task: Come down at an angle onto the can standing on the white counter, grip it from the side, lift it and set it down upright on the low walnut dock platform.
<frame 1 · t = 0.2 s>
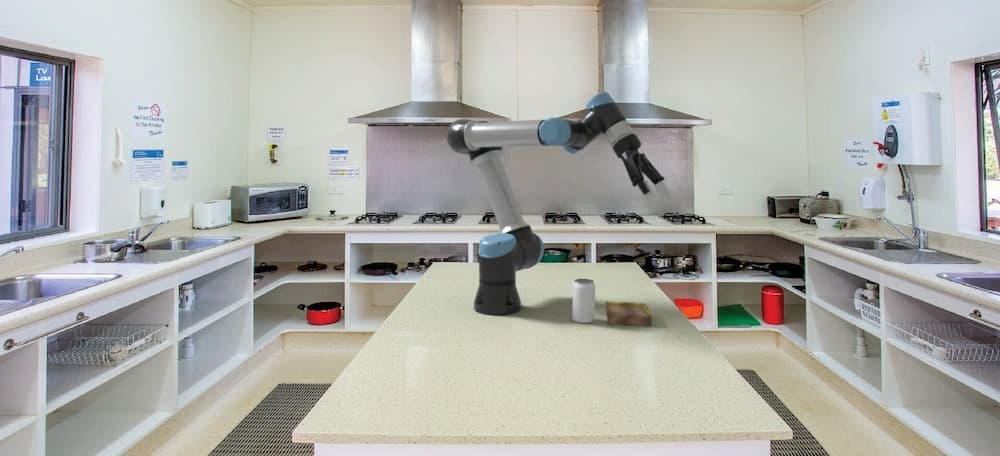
hand: (662, 202, 138), 35 cm above the counter, tool tilted 35°, fingers open, 13 cm apart
dock: (627, 319, 148), on the counter
can: (583, 321, 147), on the counter
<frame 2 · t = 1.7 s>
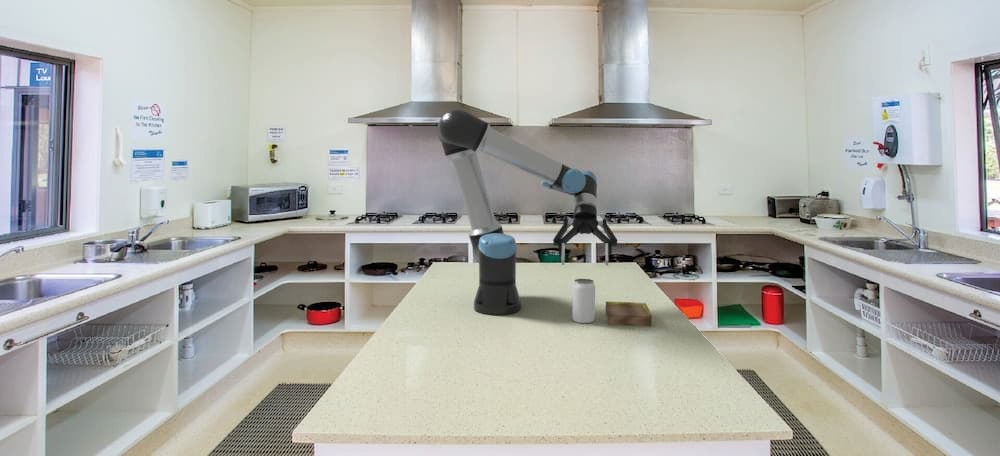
hand: (584, 262, 155), 15 cm above the counter, tool tilted 45°, fingers open, 13 cm apart
nothing on the counter moved.
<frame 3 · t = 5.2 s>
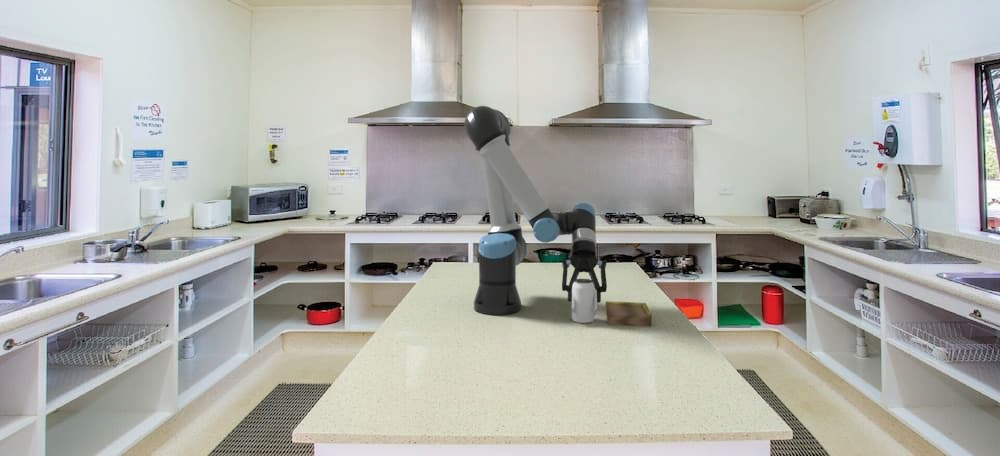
hand: (584, 311, 143), 4 cm above the counter, tool tilted 45°, fingers closed on can, 6 cm apart
can: (582, 321, 147), on the counter, touching gripper
when the fingers open (8 cm above the counter, at t = 9.3 s): can drops 1 cm, resting on dock.
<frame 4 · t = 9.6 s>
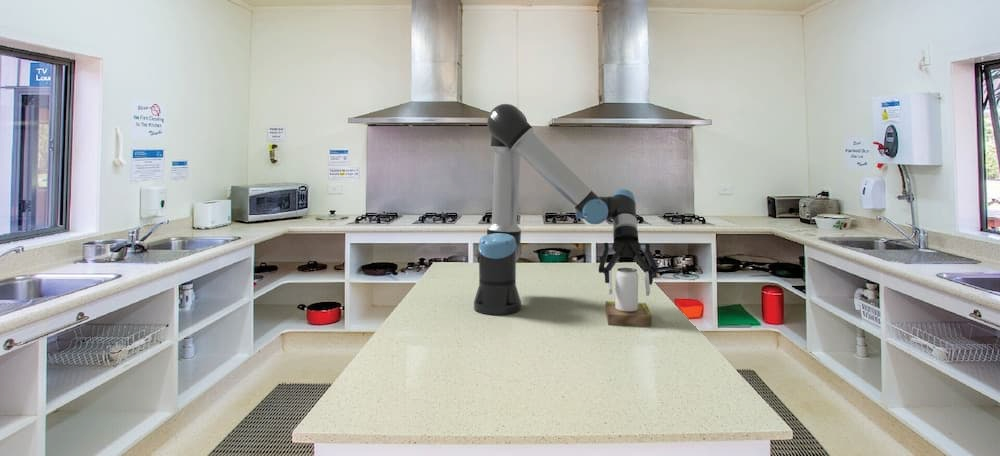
hand: (629, 292, 144), 9 cm above the counter, tool tilted 45°, fingers open, 10 cm apart
can: (626, 310, 148), point 3 cm above the counter, touching dock
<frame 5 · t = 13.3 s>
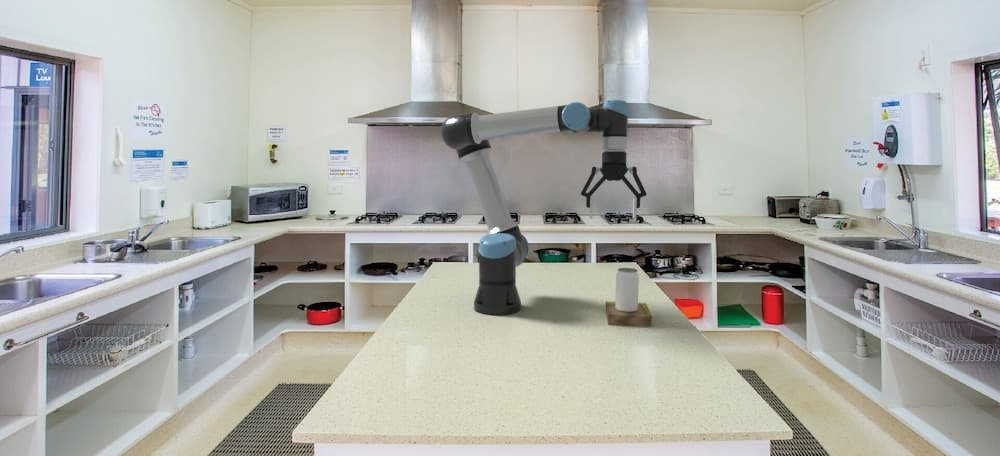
hand: (612, 218, 159), 29 cm above the counter, tool pointing down, fingers open, 13 cm apart
nothing on the counter moved.
at the end: can inside the target area on the dock (0.4 cm from its centre), point 2.8 cm above the dock's base; can tilted 0°; the gripper is holding nothing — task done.
